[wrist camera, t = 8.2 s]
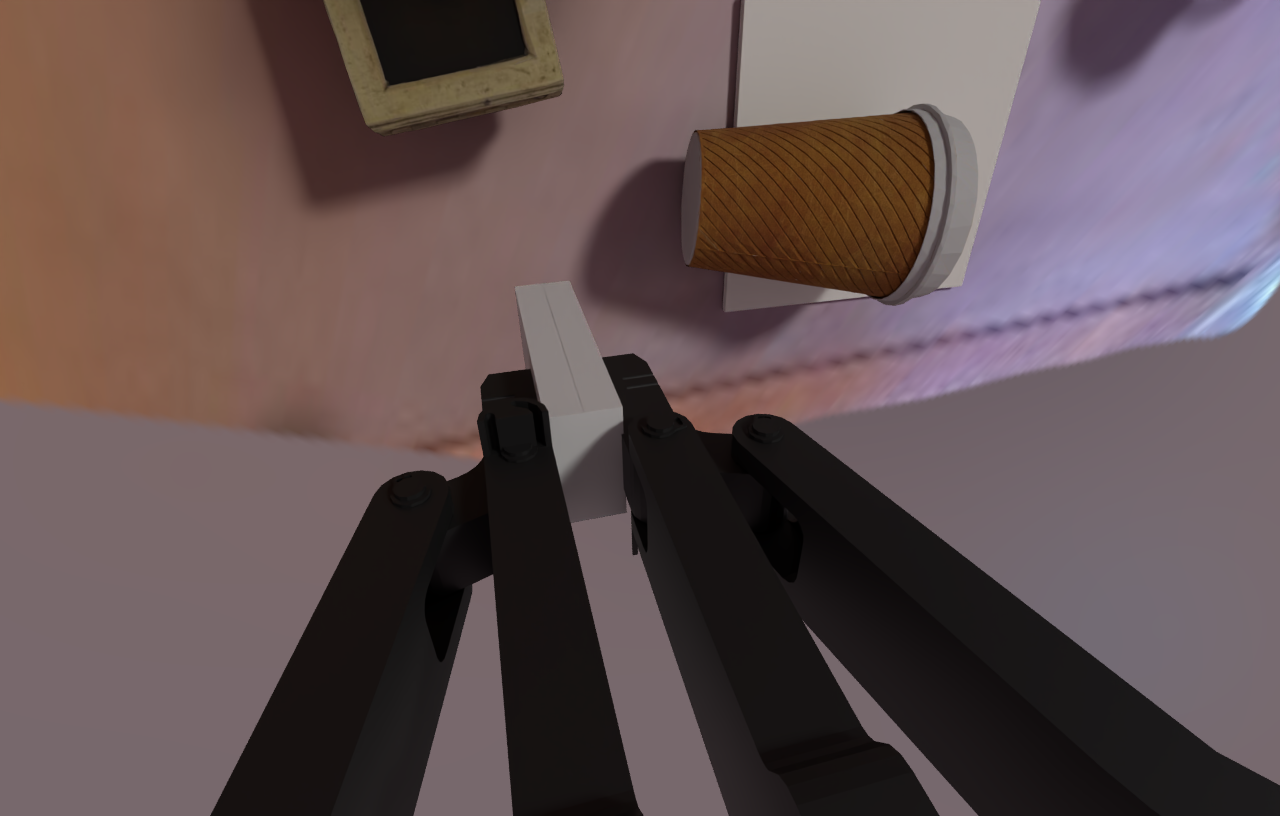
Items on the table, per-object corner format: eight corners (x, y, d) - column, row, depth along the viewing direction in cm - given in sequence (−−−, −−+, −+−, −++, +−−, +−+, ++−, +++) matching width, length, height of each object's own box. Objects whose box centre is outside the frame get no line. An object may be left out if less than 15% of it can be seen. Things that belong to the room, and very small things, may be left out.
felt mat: (722, 309, 38) (725, 312, 38) (741, -7, 30) (745, -7, 29) (956, 283, 41) (961, 285, 41) (1037, -12, 32) (1044, -12, 32)
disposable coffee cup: (705, 268, 26) (988, 277, 27) (706, 44, 26) (982, 60, 27) (675, 317, 35) (884, 323, 36) (676, 151, 36) (882, 161, 37)
